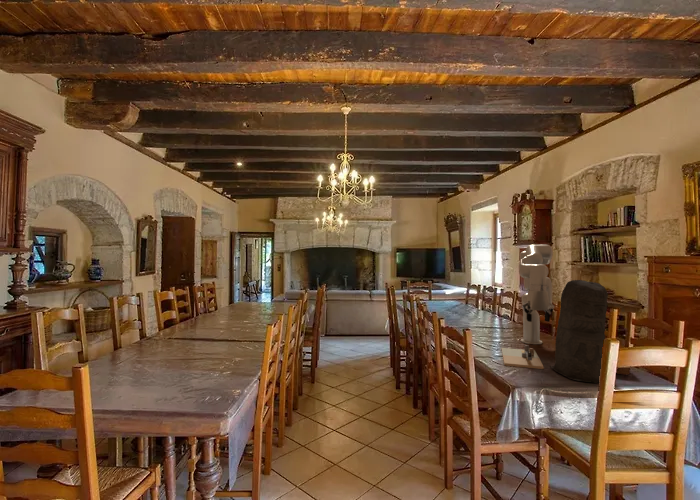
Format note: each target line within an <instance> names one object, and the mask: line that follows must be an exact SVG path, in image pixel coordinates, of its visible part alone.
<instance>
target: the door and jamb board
mask: <svg viewBox="0 0 700 500" xmlns="http://www.w3.org/2000/svg"><path fill="white" fill-rule="evenodd" d="M525 351H529V352H531V356H532V360H528V359H527V357H526V354H525ZM501 354H502V355H501V356H502V359H503V365H504V366H506V367H507V366H508V367H517V368H526V369H527V368H529V369H537V370H538V369H539V370H544V369H545V367H544V365H543V363H542V361H541V359H540V357H539V355H538V354H537V352H536V350H535V349H534V348H531V347H530V344H524V349H521V348H520V349H519V348H508V347H501Z"/></svg>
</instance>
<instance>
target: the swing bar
mask: <svg viewBox="0 0 700 500" xmlns="http://www.w3.org/2000/svg"><path fill="white" fill-rule="evenodd" d="M525 354H526V357H527V359H528V360H532V356H531V352H529V351H525Z"/></svg>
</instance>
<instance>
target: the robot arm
mask: <svg viewBox="0 0 700 500" xmlns="http://www.w3.org/2000/svg"><path fill="white" fill-rule="evenodd" d="M553 256H554V252H553V248H552V246H551V245H550V244H530V245H527V246H526V248H525V250H524V251H521V252H520V253H519V260H520V261H519V263H518V274H519V277H521V278H523V287H524V289H525V291H527V293H524V294H522V295H521V304H522V305H521V308H522V315H523V316H522V321H523V322H522V327H523V328H522V331H523V332H522V333H523V337H522V338H521V339H520V342H521V343H524V344H526V345H542V344H543V341H542V340H540V339H541V338H540V337H541V336H540V335H541V334H540V331H541V330H540V328H541V327H540V326H541V325H540V323H541V322H540V321H541V320H540V314H539V312H538V311H543V312H544V322H547V323H550V320H551V314H552V312H553V311H554V308H555V304H553V284H552V283H553V282H552V279H551V278H550V277H548V275H549V273H550V272H549V267H548V266H547V265H550V263H551V262H552V259H553Z"/></svg>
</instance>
